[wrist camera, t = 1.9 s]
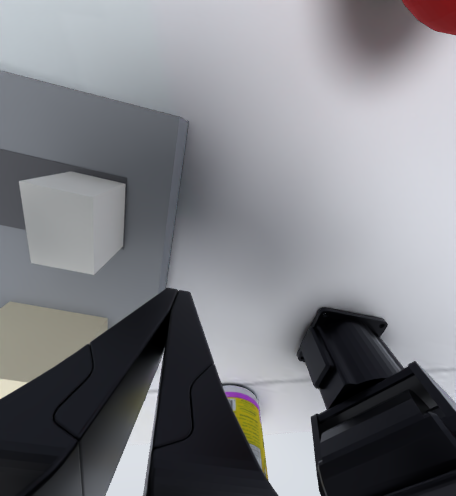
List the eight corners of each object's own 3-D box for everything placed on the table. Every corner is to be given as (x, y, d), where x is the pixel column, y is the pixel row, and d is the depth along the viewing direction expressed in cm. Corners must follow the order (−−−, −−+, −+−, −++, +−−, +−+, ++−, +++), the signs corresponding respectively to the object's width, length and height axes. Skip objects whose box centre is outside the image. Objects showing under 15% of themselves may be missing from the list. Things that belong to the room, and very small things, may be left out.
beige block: (107, 318, 17) (60, 387, 13) (106, 378, 20) (68, 453, 15) (9, 301, 17) (-81, 367, 12) (23, 365, 20) (-45, 440, 15)
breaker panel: (188, 121, 15) (177, 115, 11) (154, 372, 24) (142, 407, 21) (-129, 39, 13) (-250, 4, 10) (-29, 344, 23) (-72, 378, 19)
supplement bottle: (239, 424, 28) (246, 620, 17) (191, 407, 27) (163, 609, 15) (270, 394, 26) (304, 600, 14) (219, 374, 25) (211, 584, 13)
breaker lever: (125, 183, 13) (92, 197, 10) (123, 246, 15) (94, 274, 12) (70, 171, 13) (18, 181, 10) (74, 236, 14) (30, 263, 11)
